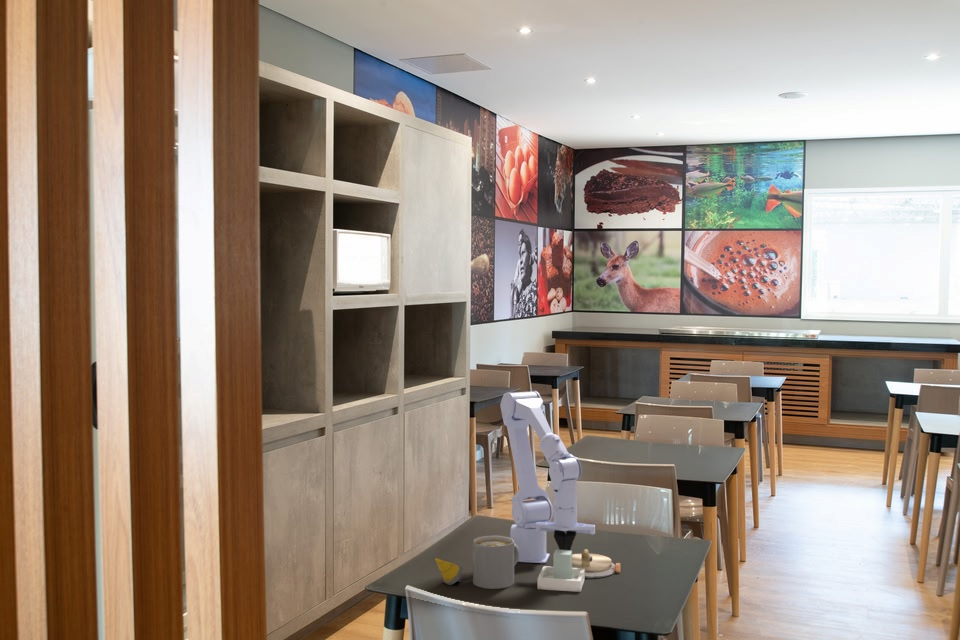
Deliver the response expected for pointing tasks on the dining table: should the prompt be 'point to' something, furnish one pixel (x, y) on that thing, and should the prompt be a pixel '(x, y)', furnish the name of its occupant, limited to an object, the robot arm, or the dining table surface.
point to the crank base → (604, 572)
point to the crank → (591, 562)
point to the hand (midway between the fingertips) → (565, 561)
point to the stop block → (562, 564)
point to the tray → (561, 580)
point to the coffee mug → (494, 561)
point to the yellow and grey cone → (450, 571)
